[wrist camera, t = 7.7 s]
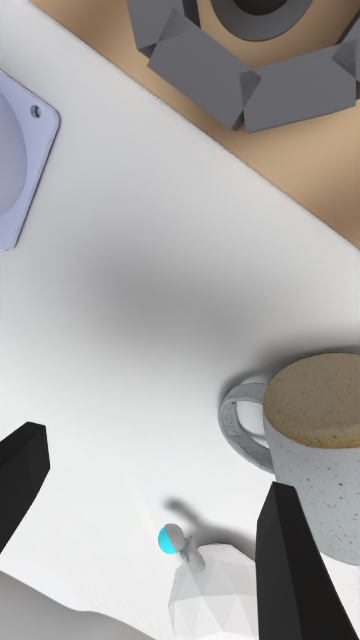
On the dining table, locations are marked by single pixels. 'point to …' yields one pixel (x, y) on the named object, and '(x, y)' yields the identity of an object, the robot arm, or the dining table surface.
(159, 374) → the dining table surface
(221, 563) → the perfume bottle
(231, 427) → the ceramic mug
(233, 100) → the dark grey octagonal ring
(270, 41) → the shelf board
